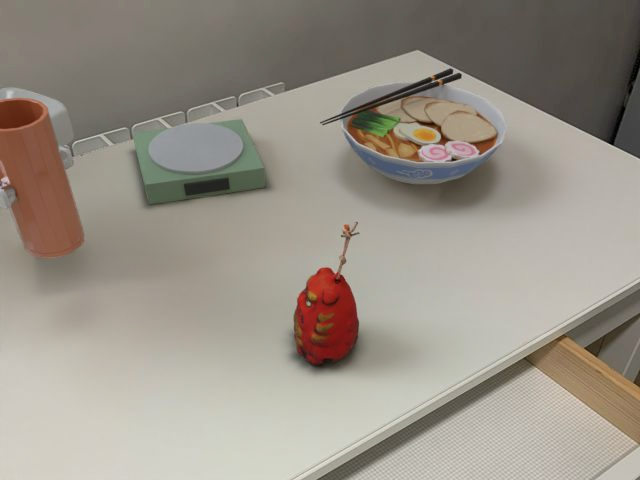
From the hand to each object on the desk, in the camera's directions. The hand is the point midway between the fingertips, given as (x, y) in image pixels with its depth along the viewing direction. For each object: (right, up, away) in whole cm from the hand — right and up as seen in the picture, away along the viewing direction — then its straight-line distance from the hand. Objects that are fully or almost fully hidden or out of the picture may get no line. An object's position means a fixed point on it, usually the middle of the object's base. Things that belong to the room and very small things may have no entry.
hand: (40, 179), depth 62 cm
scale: (+9, +13, +32) cm, 36 cm away
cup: (-1, -4, +6) cm, 7 cm away
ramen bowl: (+40, +14, +34) cm, 54 cm away
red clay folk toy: (+27, -14, +11) cm, 32 cm away
